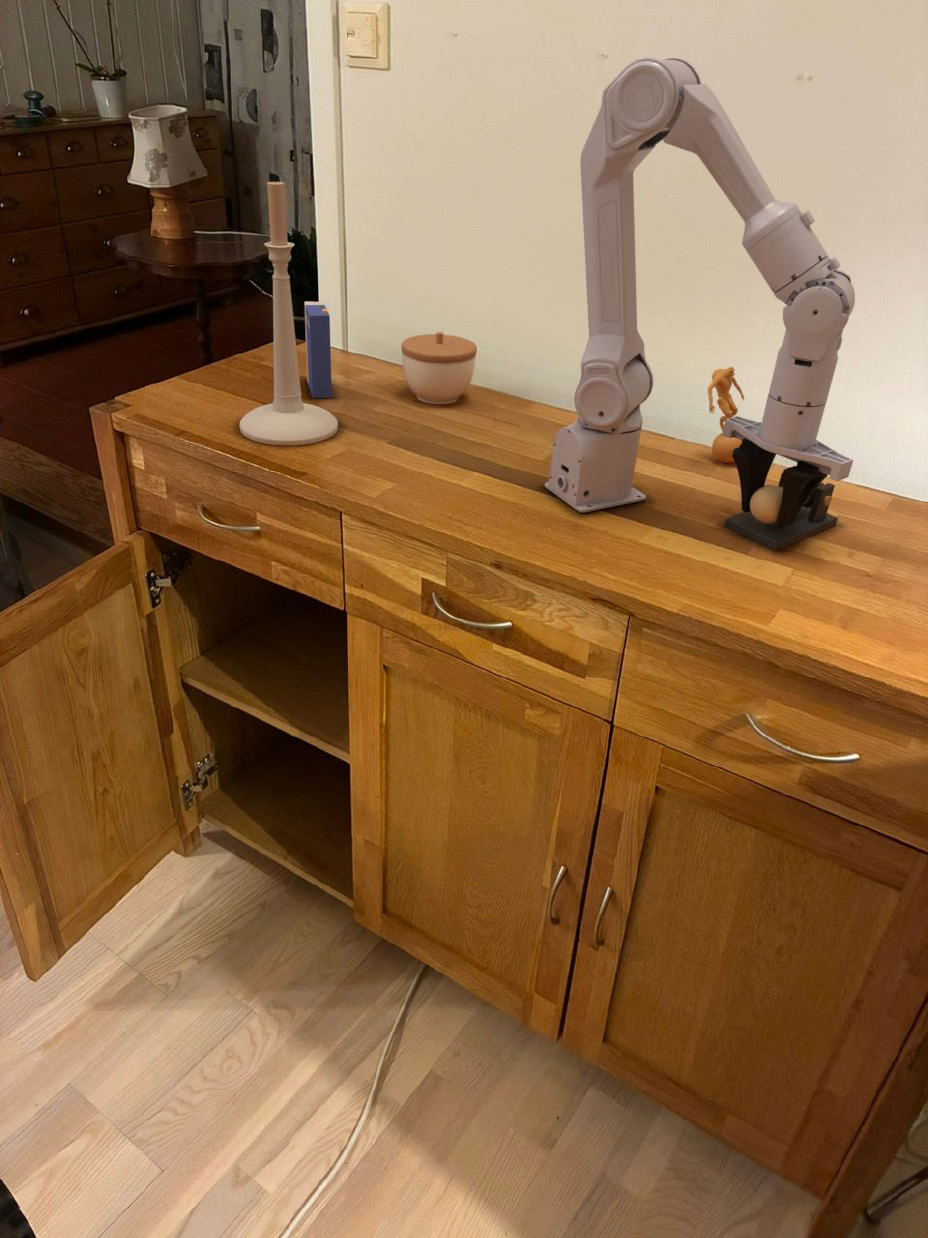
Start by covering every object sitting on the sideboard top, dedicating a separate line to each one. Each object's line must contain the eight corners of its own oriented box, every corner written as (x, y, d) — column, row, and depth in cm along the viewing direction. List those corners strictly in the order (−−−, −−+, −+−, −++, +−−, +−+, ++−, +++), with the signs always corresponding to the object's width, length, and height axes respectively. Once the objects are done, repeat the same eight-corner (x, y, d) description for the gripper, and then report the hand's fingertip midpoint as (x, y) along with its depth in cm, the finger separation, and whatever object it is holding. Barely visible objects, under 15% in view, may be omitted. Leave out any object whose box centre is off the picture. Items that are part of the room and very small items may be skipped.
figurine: (722, 474, 115) (743, 380, 109) (681, 460, 119) (698, 368, 112) (753, 457, 121) (775, 367, 114) (713, 444, 124) (731, 356, 118)
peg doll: (821, 512, 104) (769, 533, 99) (789, 499, 106) (738, 518, 101) (830, 478, 102) (779, 498, 96) (798, 465, 104) (746, 483, 99)
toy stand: (775, 551, 98) (786, 509, 96) (723, 526, 103) (732, 485, 100) (836, 525, 104) (848, 485, 102) (784, 502, 109) (794, 463, 106)
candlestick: (294, 453, 114) (280, 189, 98) (219, 429, 119) (194, 176, 103) (357, 424, 123) (354, 179, 107) (284, 403, 129) (271, 167, 113)
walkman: (332, 397, 132) (329, 312, 125) (312, 398, 131) (309, 312, 125) (325, 380, 138) (323, 298, 132) (307, 380, 138) (303, 298, 131)
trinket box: (473, 411, 130) (477, 345, 125) (398, 407, 130) (399, 341, 125) (474, 387, 139) (477, 324, 134) (403, 383, 139) (404, 320, 134)
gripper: (883, 412, 91) (845, 534, 98) (762, 372, 100) (736, 486, 108) (843, 425, 87) (807, 550, 94) (721, 382, 97) (697, 499, 104)
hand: (766, 517), depth 101 cm, fingers closed on peg doll, 4 cm apart
